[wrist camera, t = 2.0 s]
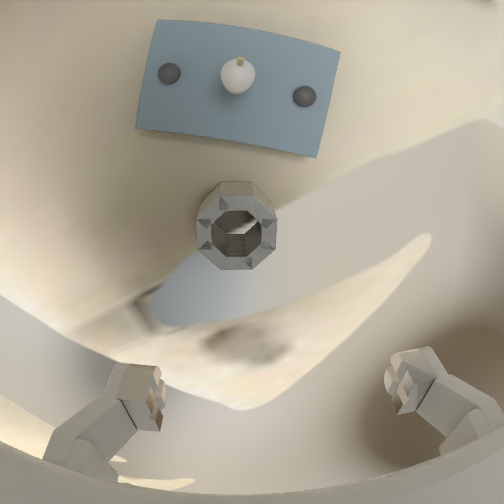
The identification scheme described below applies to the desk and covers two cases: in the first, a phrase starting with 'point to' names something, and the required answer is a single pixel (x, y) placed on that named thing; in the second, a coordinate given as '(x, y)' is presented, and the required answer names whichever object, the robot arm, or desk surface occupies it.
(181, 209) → the desk surface
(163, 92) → the pillow block
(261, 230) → the hub
